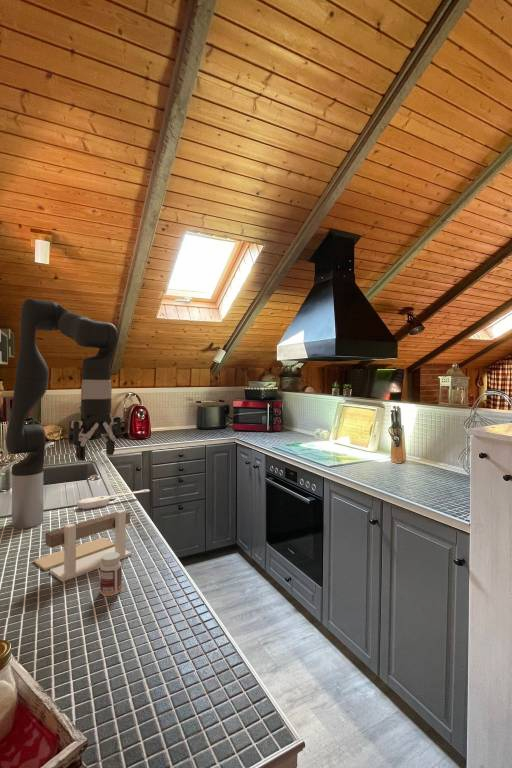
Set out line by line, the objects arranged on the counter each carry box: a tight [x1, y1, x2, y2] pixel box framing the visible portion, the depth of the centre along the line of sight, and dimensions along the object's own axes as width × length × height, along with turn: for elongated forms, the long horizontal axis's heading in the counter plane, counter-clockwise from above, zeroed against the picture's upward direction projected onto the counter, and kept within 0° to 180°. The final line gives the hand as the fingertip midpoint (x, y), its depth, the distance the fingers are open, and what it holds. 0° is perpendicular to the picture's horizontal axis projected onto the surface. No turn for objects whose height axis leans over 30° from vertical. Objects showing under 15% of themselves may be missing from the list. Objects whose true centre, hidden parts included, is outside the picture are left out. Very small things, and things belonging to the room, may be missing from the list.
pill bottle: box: [99, 552, 123, 597], centre depth 94 cm, size 5×5×8 cm
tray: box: [33, 537, 115, 571], centre depth 113 cm, size 7×20×1 cm, turn 140°
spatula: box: [76, 489, 151, 510], centre depth 158 cm, size 28×6×3 cm, turn 128°
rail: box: [45, 509, 131, 548], centre depth 107 cm, size 3×22×3 cm, turn 140°
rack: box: [49, 508, 132, 583], centre depth 107 cm, size 7×19×13 cm, turn 140°
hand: (95, 457), depth 106 cm, fingers open, 8 cm apart
